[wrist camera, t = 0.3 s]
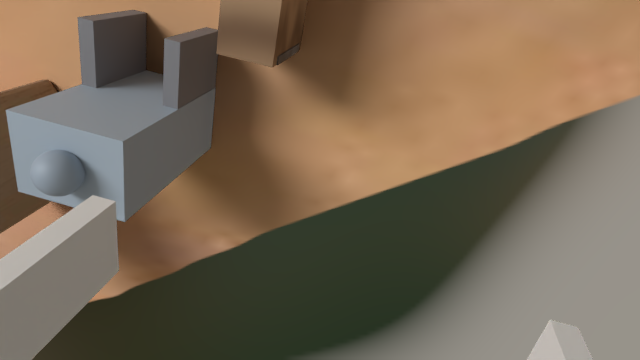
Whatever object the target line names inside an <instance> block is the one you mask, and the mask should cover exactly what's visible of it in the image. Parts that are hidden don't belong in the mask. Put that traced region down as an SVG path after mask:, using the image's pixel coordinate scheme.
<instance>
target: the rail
mask: <svg viewBox="0 0 640 360" xmlns="http://www.w3.org/2000/svg"><path fill="white" fill-rule="evenodd" d="M307 2H308V0H221V2H220V14H219V27H218V39H217V51H216V54H219V55H223V56H227V57H231V58H235V59H239V60H243V61H247V62H251V63H255V64H260V65H264V66H268V67H272V68H273V67H274V66H276V65H279V64H280V63H282V62H283V61H285V60H286V59H288V58H289V57H291V56H292V55H294V54H295V53H296V52H298V50H299V49H300V44H301V38H302V32H303V26H304V20H305V14H306V8H307Z"/></svg>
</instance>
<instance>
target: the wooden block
mask: <svg viewBox="0 0 640 360" xmlns="http://www.w3.org/2000/svg"><path fill="white" fill-rule="evenodd" d="M54 93H57V91H56V89H55V88H54V86H53V85H52V83H51V82H50V81H49V80H40V81H37V82H33V83H30V84H26V85H23V86H19V87H16V88H12V89H9V90H6V91H2V92H0V233H2V232H3V231H5V230H6V229H8V228H10V227H11V226H13V225H14V224H16V223H18V222H19V221H21V220H22V219H24V218H26V217H27V216H29V215H30V214H32V213H34V212H35V211H37V210H38V209H40V208H41V207H43V206H45V205H46V204H48V203H49V202H51V201H50V200H46V199H43V198H39V197H36V196H32V195H29V194H25V193H22V192H18V187H17V181H16V174H15V168H14V161H13V155H12V148H11V142H10V135H9V128H8V122H7V115H6V110H7V109H10V108H13V107H16V106H19V105H22V104H25V103H28V102H31V101H34V100H37V99H40V98H43V97H46V96H49V95H52V94H54Z"/></svg>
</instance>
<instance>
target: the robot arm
mask: <svg viewBox="0 0 640 360" xmlns="http://www.w3.org/2000/svg"><path fill="white" fill-rule="evenodd" d="M118 271H119V262H118V240H117V219H116V201H113V200H109V199H105V198H102V197H98V196H94V195H92V196H91V197H89V198H88V199H86V200H85V201H83V202H82V203H81V204H79V205H78V206H76V207H75V208H73V209H72V210H71V211H69V212H68V213H66V214H65V215H63V216H62V217H60V218H59V219H58V220H56V221H55V222H53V223H52V224H50V225H49V226H48V227H46V228H45V229H43V230H42V231H40V232H39V233H37V234H36V235H35V236H33V237H32V238H30V239H29V240H27V241H26V242H25V243H23V244H22V245H20V246H19V247H17V248H16V249H14V250H13V251H12V252H10V253H9V254H7V255H6V256H4V257H3V258H1V259H0V360H31V359H32V358H33V357H34V356H35V355H36V354H37V353H38V352H39V351H40V350H41V349H42V348H43V347H44V346H45V345H46V344H47V343H48V342H49V341H50V340H51V339H52V338H53V337H54V336H55V335H56V334H57V333H58V332H59V331H60V330H61V329H62V328H63V327H64V326H65V325H66V324H67V323H68V322H69V321H70V320H71V319H72V318H73V317H74V316H75V315H76V314H77V313H78V312H79V311H80V310H81V309H82V308H83V307H84V306H85V305H86V304H87V303H88V302H89V301H90V300H91V299H92V298H93V297H94V296H95V295H96V294H97V293H98V292H99V291H100V290H101V289H102V287H103V286H104V285H105V284H106V283H107V282H108V281H109V280H110V279H111V278H112V277H113V276H114V275H115V274H116V273H117V272H118ZM527 360H593V358H592V356H591V354H590V352H589V350H588V348H587V345H586V343H585V341H584V339H583V337H582V335H581V332H580V330H579V328H578V327H576V326H572V325H568V324H565V323H561V322H557V321H554V320H549V322H548V324H547V326H546V327H545V329H544V331H543V332H542V334H541V336H540V337H539V339H538V341H537V343H536V344H535V346H534V348H533V350H532V351H531V353H530V355H529V356H528V358H527Z"/></svg>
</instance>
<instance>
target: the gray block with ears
mask: <svg viewBox="0 0 640 360" xmlns="http://www.w3.org/2000/svg"><path fill="white" fill-rule="evenodd" d="M78 30H79V45H80V61H81V76H82V84H81V85H78V86H75V87H72V88H69V89H66V90H63V91H60V92H57V93H54V94H52V95H49V96H46V97H43V98H40V99H37V100H34V101H31V102H28V103H25V104H22V105H19V106H16V107H13V108H10V109H7V110H6V115H7V122H8V128H9V135H10V142H11V148H12V155H13V161H14V168H15V174H16V181H17V187H18V192H22V193H25V194H29V195H32V196H36V197H39V198H43V199H46V200H50V201H53V202H57V203H60V204H64V205H67V206H71V207H74V208H75V207H76V206H78V205H79V204H81V203H82V202H83V201H85V200H86V199H88V198H89V197H91V196H92V195H94V196H98V197H102V198H105V199H109V200H113V201H116V219H117V220H119V221H123V222H125V221H126V220H128V219H129V218H130V217H131V216H132V215H133V214H135V213H136V212H137V211H138V210H139V209H140V208H142V207H143V206H144V205H145V204H146V203H147V202H149V201H150V200H151V199H152V198H153V197H154V196H155V195H157V194H158V193H159V192H160V191H161V190H162V189H164V188H165V187H166V186H167V185H168V184H169V183H171V182H172V181H173V180H174V179H175V178H176V177H178V176H179V175H180V174H181V173H182V172H183V171H184V170H186V169H187V168H188V167H189V166H190V165H191V164H193V163H194V162H195V161H196V160H197V159H198V158H200V157H201V156H202V155H203V154H204V153H205V152H207V151H208V150H209V149H210V148H211V140H212V127H213V115H214V103H215V91H216V88H215V84H216V72H217V59H218V54H216V51H217V39H218V30H216V29H211V28H207V27H206V28H202V29H198V30H194V31H191V32H187V33H183V34H179V35H175V36H172V37H168V38H164V74H159V73H156V72H152V71H148V70H146V13H145V12H140V11H136V10H129V11H121V12H114V13H106V14H98V15H91V16H83V17H78Z"/></svg>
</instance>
